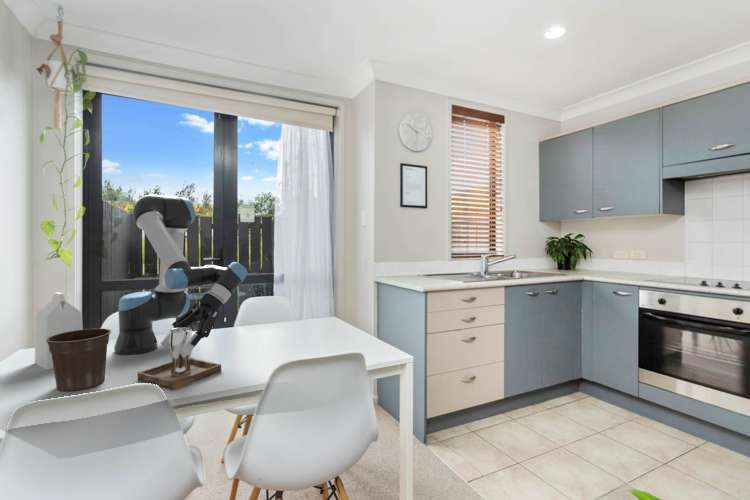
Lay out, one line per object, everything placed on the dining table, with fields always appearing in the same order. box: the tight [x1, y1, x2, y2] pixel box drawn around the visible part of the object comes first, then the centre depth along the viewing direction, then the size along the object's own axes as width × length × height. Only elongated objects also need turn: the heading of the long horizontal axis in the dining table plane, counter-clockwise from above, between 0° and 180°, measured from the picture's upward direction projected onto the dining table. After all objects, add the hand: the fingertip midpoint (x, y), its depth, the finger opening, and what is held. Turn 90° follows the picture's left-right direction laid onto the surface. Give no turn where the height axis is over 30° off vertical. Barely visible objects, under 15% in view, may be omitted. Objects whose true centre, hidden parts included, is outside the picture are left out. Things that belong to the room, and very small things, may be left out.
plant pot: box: [46, 327, 112, 392], centre depth 119 cm, size 16×16×16 cm
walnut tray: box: [137, 357, 222, 391], centre depth 127 cm, size 18×18×2 cm
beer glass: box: [168, 326, 193, 376], centre depth 127 cm, size 7×7×15 cm
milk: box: [34, 291, 84, 371], centre depth 139 cm, size 12×12×26 cm
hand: (173, 349), depth 124 cm, fingers open, 13 cm apart
